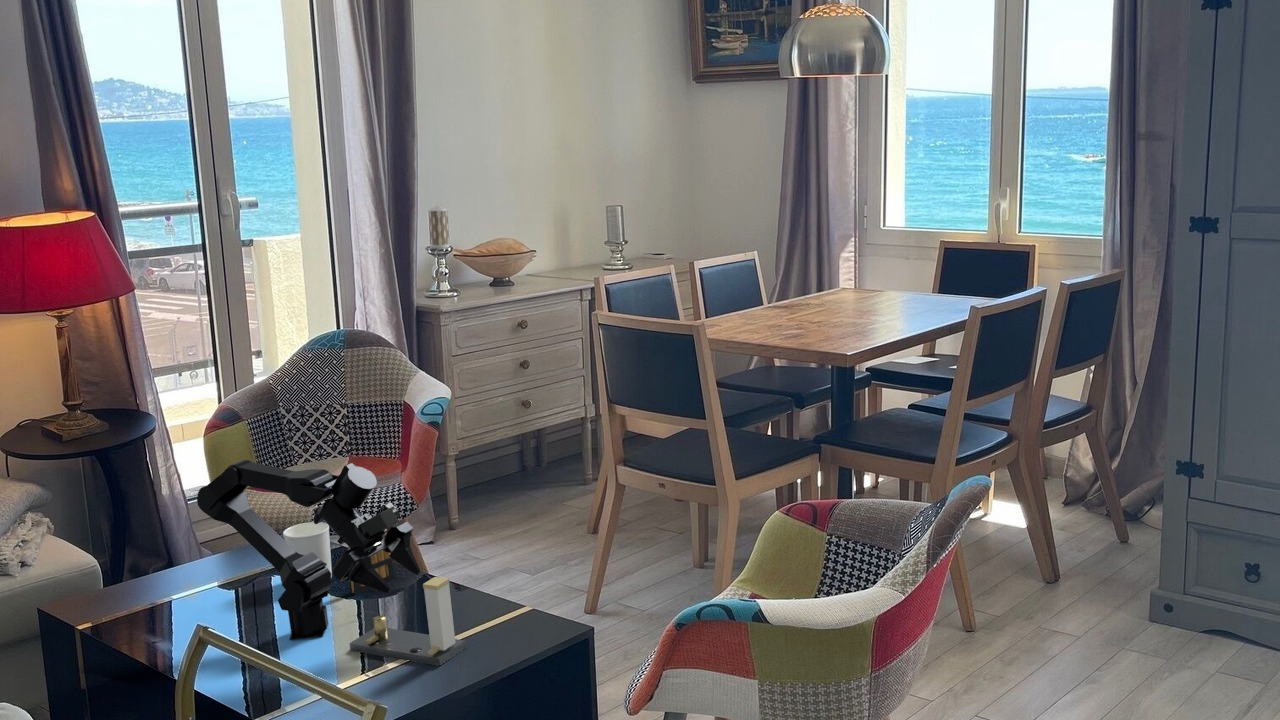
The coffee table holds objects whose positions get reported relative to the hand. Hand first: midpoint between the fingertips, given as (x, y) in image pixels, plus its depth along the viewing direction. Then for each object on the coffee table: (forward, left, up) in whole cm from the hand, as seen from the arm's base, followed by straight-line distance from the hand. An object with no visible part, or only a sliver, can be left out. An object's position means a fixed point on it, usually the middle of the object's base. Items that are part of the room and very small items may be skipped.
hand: (404, 582), depth 222 cm
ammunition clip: (-11, +35, -13) cm, 39 cm away
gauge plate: (-1, 0, -13) cm, 13 cm away
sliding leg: (+6, -6, -11) cm, 14 cm away
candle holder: (-25, +42, -13) cm, 51 cm away
